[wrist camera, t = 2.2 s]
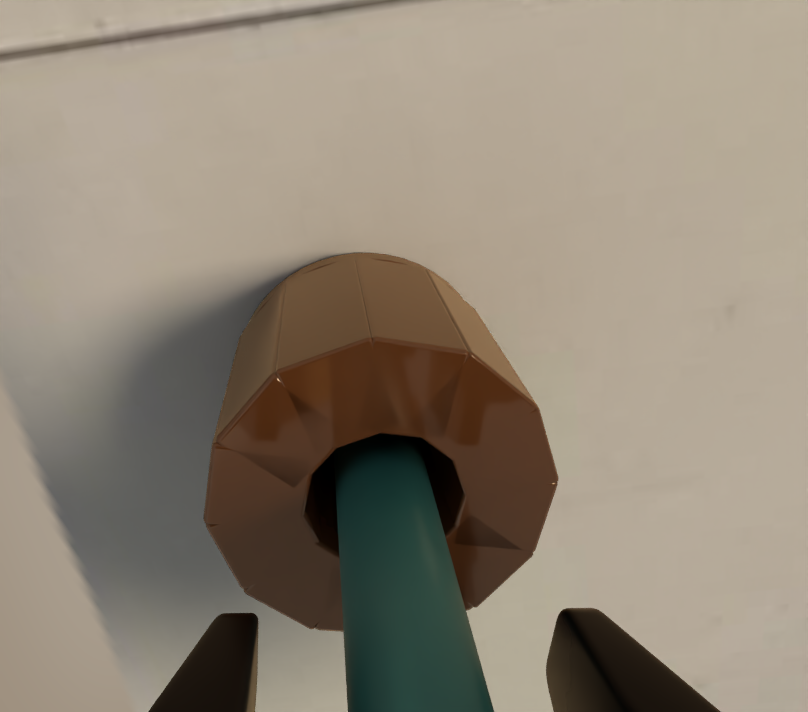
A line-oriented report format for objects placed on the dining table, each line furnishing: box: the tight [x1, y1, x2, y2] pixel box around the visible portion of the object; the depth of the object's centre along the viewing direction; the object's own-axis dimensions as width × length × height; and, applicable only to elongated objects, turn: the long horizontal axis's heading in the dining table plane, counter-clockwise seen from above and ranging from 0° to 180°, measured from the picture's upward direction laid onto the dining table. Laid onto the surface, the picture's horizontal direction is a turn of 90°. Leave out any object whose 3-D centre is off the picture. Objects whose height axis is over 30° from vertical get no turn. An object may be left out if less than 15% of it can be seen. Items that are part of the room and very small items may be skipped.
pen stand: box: [203, 253, 558, 632], centre depth 12 cm, size 5×5×4 cm
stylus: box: [334, 433, 494, 712], centre depth 8 cm, size 1×1×13 cm
